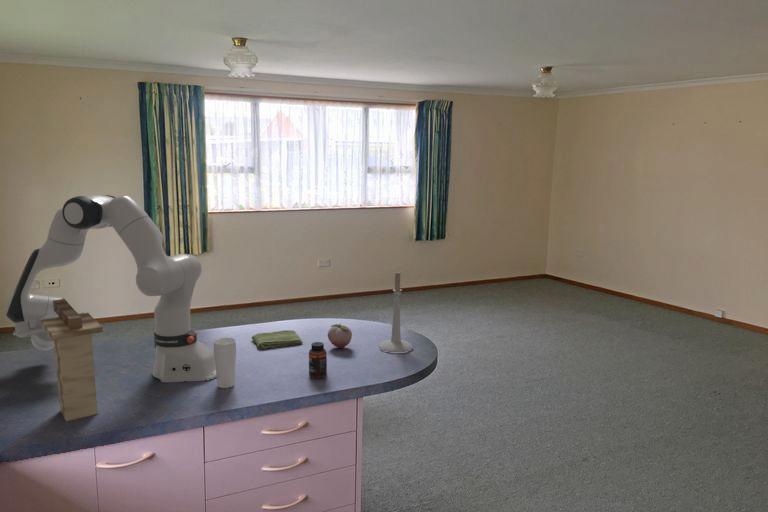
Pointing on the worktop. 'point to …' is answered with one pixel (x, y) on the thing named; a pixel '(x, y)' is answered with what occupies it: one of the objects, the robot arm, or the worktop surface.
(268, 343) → the washcloth
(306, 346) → the worktop surface
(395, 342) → the candlestick
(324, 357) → the supplement bottle
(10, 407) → the worktop surface
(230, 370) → the drinking glass
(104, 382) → the worktop surface
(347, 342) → the decorative fruit
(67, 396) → the stand
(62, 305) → the block
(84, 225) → the robot arm
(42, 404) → the worktop surface
